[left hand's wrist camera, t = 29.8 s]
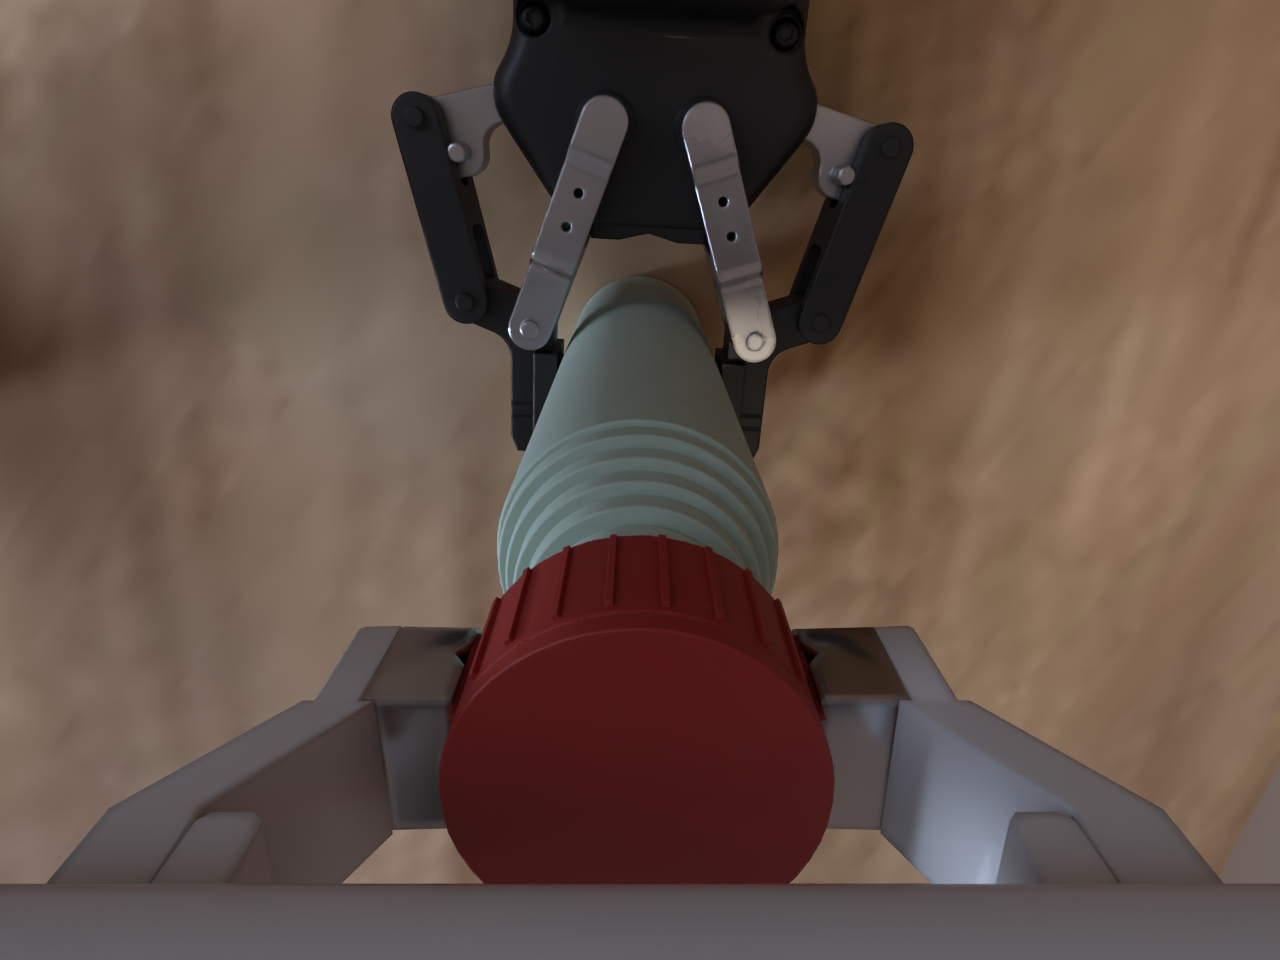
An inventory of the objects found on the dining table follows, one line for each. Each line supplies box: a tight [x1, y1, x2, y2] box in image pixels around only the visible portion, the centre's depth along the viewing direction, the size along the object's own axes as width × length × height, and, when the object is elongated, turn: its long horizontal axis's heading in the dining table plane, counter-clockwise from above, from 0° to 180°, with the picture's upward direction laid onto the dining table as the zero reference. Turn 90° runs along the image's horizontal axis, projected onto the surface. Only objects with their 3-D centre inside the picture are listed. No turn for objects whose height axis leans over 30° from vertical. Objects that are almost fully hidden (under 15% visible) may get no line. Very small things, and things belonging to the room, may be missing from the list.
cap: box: [439, 534, 835, 884], centre depth 9 cm, size 4×4×2 cm
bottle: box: [497, 276, 778, 595], centre depth 20 cm, size 5×5×23 cm
